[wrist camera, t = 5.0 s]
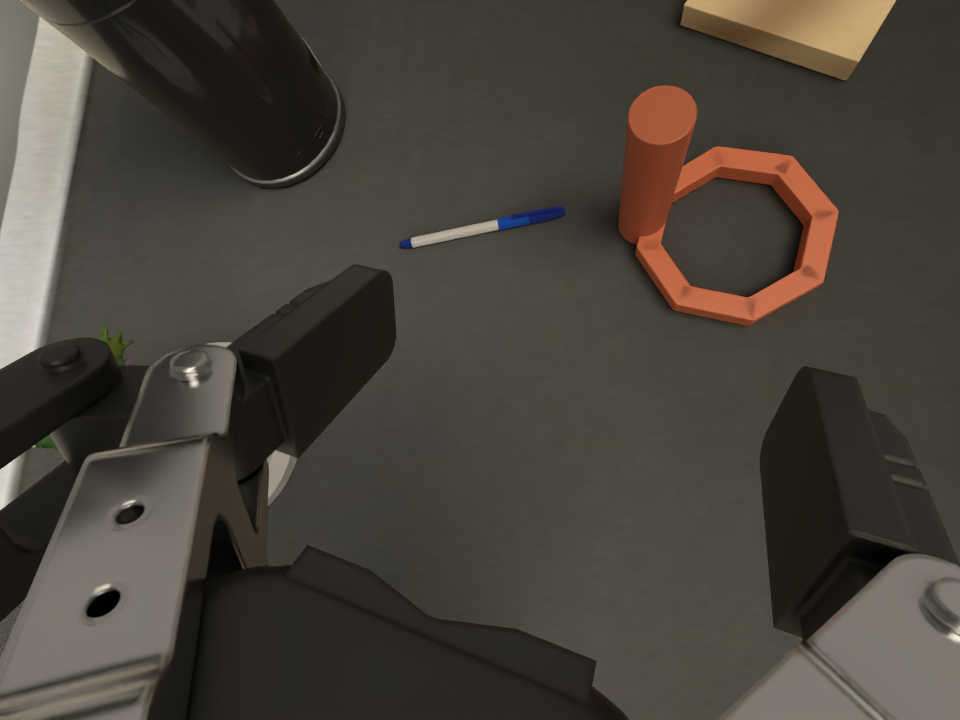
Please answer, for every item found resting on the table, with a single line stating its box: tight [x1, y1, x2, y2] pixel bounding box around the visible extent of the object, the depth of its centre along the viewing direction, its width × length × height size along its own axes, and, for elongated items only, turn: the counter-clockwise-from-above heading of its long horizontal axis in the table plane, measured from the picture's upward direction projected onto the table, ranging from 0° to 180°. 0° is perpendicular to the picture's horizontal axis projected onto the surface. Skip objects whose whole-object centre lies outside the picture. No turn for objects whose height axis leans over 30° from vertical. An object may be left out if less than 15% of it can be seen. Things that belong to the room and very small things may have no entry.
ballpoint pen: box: [400, 207, 565, 248], centre depth 32 cm, size 10×1×1 cm, turn 98°
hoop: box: [618, 85, 839, 326], centre depth 24 cm, size 11×9×10 cm
